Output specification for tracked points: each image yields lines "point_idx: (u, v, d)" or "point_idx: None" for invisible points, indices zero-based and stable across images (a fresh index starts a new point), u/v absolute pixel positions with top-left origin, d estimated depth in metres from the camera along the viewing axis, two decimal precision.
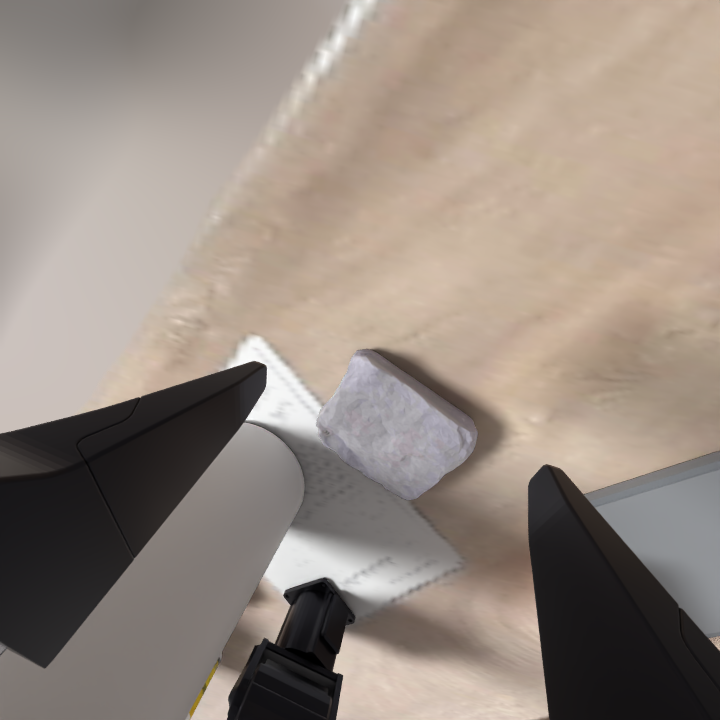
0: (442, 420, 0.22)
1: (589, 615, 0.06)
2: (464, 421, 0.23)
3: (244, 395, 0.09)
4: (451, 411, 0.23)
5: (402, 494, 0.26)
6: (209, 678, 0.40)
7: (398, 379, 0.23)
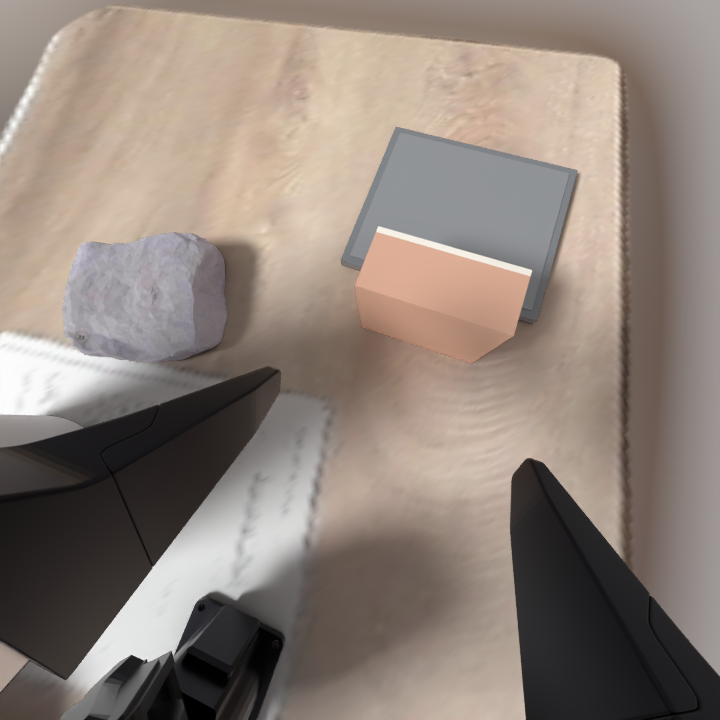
0: (160, 236, 0.23)
1: (562, 604, 0.06)
2: None
3: (260, 401, 0.09)
4: None
5: (186, 340, 0.22)
6: None
7: (118, 244, 0.24)
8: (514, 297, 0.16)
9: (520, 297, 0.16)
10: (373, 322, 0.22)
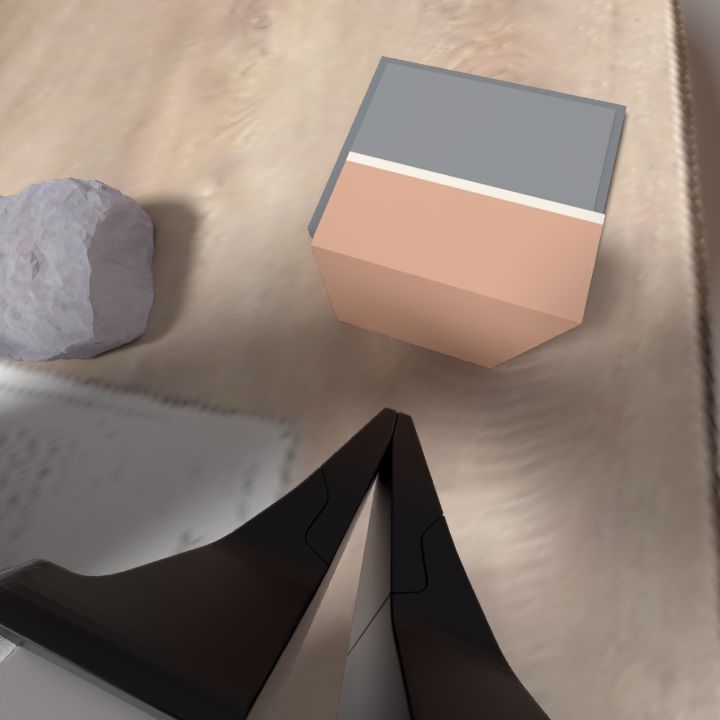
0: (48, 183, 0.16)
1: (379, 530, 0.06)
2: None
3: None
4: None
5: (82, 329, 0.15)
6: None
7: None
8: (578, 259, 0.10)
9: (588, 259, 0.10)
10: (351, 312, 0.15)
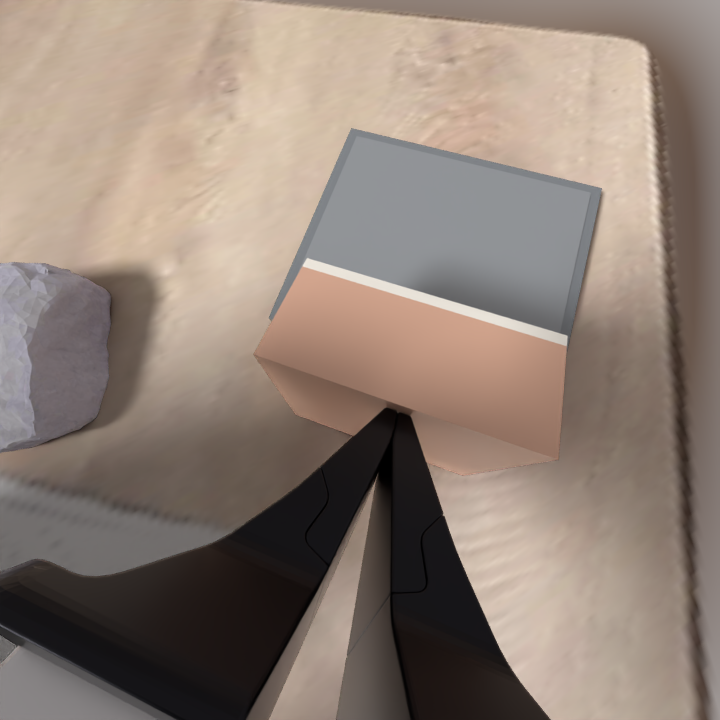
0: None
1: (378, 530, 0.06)
2: None
3: None
4: None
5: (24, 427, 0.15)
6: None
7: None
8: (546, 382, 0.09)
9: (556, 383, 0.09)
10: (308, 411, 0.14)
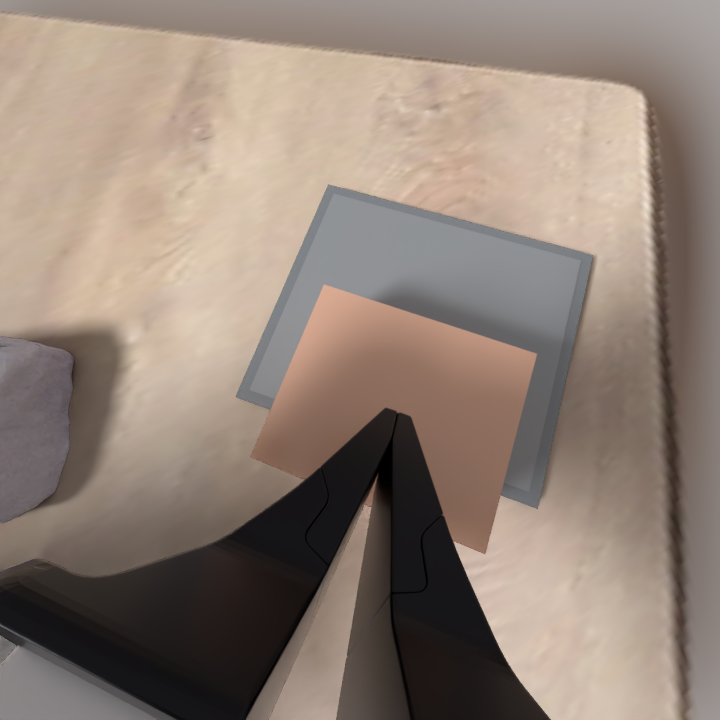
0: None
1: (379, 530, 0.06)
2: None
3: None
4: None
5: None
6: None
7: None
8: None
9: None
10: (296, 413, 0.12)
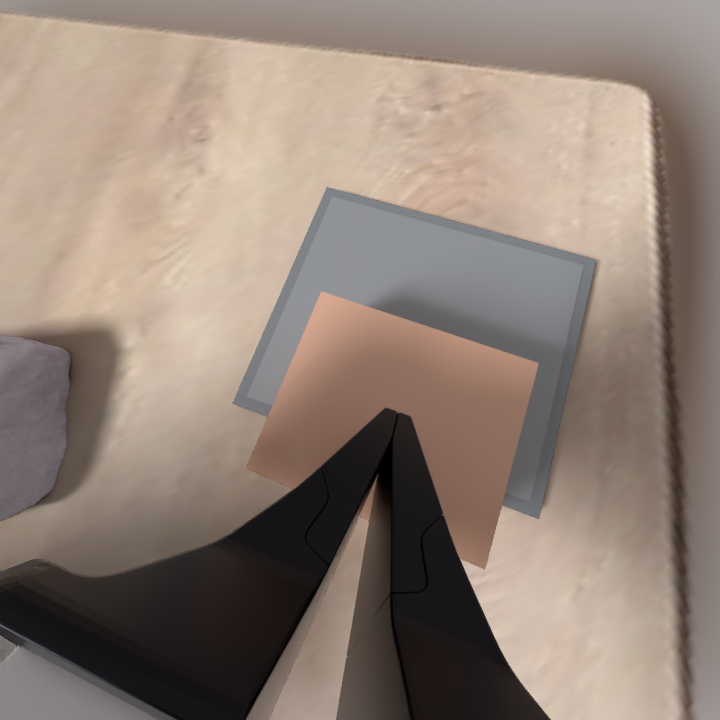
0: None
1: (379, 530, 0.06)
2: None
3: None
4: None
5: None
6: None
7: None
8: None
9: None
10: (293, 424, 0.11)
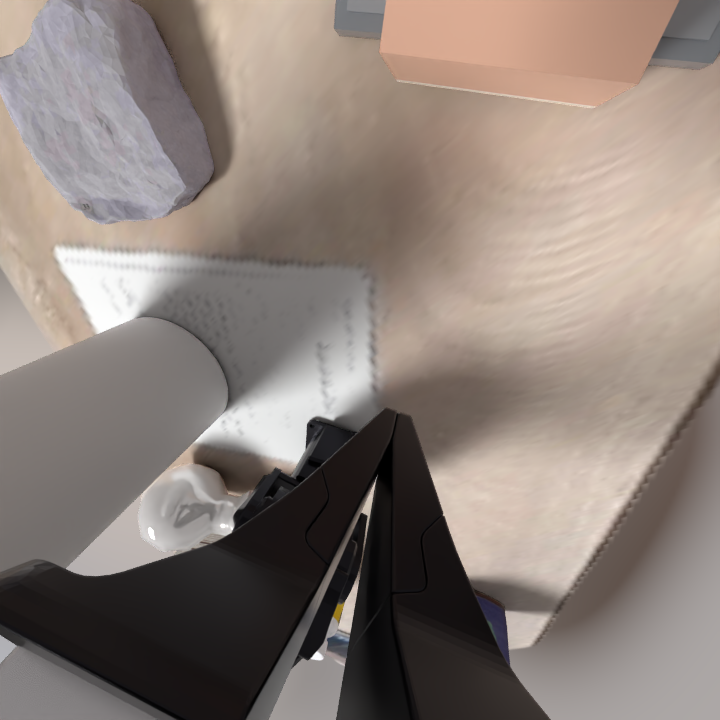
0: (46, 13, 0.15)
1: (378, 530, 0.06)
2: None
3: None
4: None
5: (175, 182, 0.19)
6: None
7: (18, 50, 0.17)
8: None
9: None
10: None
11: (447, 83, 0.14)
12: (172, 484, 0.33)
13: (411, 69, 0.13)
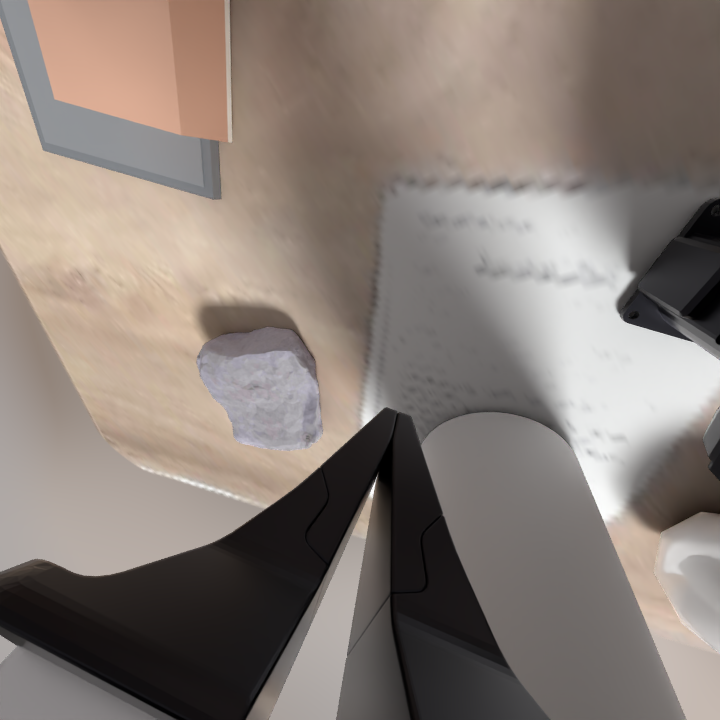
0: (207, 387, 0.26)
1: (379, 530, 0.06)
2: None
3: None
4: None
5: (287, 357, 0.23)
6: None
7: (230, 418, 0.29)
8: None
9: None
10: (140, 98, 0.14)
11: (221, 84, 0.16)
12: (682, 576, 0.20)
13: (203, 114, 0.15)
